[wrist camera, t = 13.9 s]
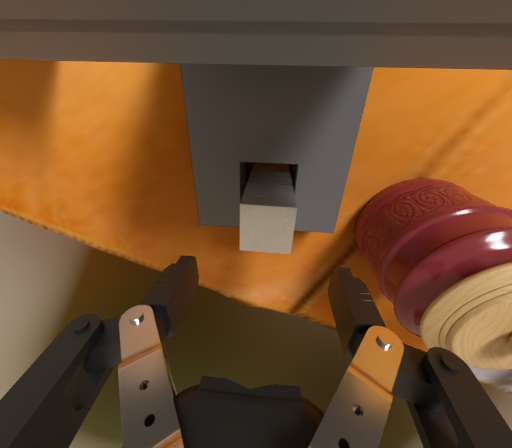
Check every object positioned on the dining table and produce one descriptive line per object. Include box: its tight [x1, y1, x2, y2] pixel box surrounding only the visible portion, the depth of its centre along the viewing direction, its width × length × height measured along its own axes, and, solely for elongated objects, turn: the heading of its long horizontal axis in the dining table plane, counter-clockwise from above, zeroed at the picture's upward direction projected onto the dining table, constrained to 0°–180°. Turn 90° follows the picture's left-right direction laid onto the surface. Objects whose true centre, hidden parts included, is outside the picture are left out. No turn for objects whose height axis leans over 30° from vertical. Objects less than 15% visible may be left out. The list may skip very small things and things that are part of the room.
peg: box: [240, 162, 297, 254], centre depth 21 cm, size 4×4×12 cm
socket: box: [180, 63, 374, 233], centre depth 22 cm, size 15×17×5 cm
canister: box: [355, 178, 512, 369], centre depth 20 cm, size 13×13×18 cm
